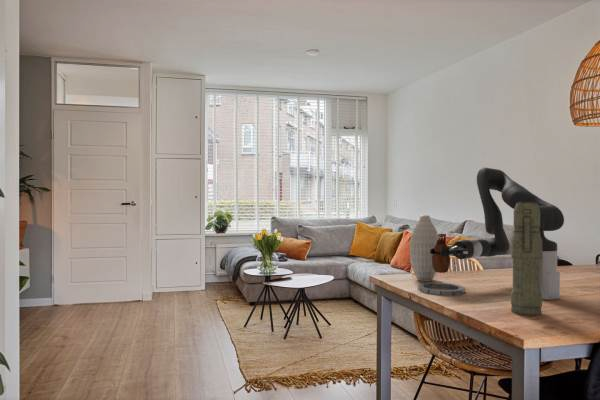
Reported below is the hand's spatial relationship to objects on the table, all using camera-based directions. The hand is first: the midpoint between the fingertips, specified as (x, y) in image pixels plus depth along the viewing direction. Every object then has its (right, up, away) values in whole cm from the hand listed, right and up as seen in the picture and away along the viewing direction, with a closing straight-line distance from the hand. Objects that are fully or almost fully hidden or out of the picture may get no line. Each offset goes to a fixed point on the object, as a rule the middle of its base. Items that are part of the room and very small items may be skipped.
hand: (435, 252), depth 183 cm
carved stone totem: (+19, -16, -33) cm, 41 cm away
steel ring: (+2, -15, +1) cm, 15 cm away
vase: (+2, -15, +24) cm, 28 cm away
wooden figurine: (+2, -8, +1) cm, 9 cm away
